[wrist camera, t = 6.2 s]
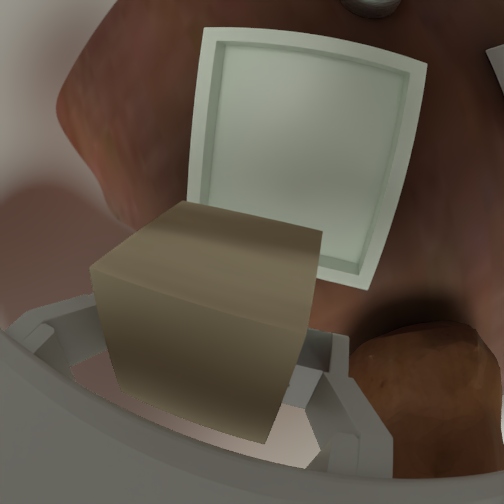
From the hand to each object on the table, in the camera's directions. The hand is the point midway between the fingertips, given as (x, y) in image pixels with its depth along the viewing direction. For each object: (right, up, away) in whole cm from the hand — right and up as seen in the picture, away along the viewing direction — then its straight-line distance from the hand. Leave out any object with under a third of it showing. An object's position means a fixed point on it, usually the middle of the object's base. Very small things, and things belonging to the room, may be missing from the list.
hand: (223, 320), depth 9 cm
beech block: (0, +1, +1) cm, 2 cm away
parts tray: (+4, +9, +11) cm, 15 cm away
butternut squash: (+16, -6, +15) cm, 23 cm away
